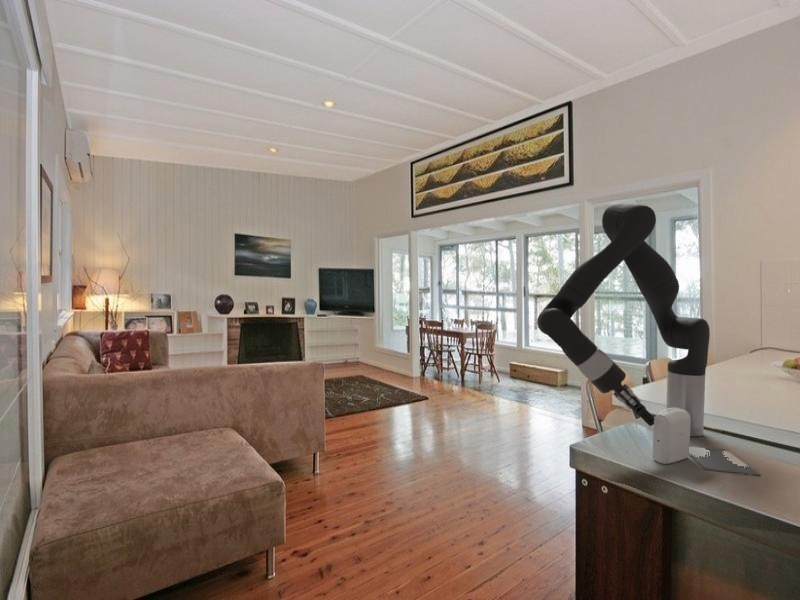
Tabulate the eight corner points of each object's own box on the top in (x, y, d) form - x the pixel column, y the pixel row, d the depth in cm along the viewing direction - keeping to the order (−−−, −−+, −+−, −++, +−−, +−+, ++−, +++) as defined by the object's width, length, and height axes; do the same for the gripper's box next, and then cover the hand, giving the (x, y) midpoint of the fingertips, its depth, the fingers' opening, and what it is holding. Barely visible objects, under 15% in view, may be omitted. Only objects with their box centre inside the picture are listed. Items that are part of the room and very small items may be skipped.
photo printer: (667, 466, 102) (670, 413, 101) (649, 459, 106) (651, 408, 105) (691, 458, 107) (694, 408, 106) (673, 452, 111) (676, 403, 110)
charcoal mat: (679, 446, 116) (679, 444, 116) (726, 450, 113) (727, 449, 113) (704, 469, 100) (704, 468, 100) (760, 475, 97) (760, 474, 97)
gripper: (617, 364, 103) (675, 421, 100) (606, 356, 116) (657, 406, 113) (592, 385, 104) (648, 441, 102) (584, 374, 117) (634, 424, 114)
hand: (653, 422), depth 107 cm, fingers closed
